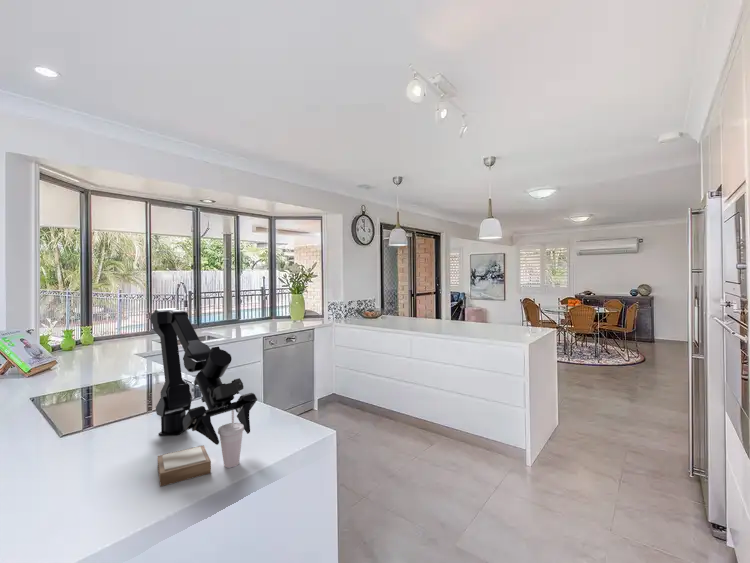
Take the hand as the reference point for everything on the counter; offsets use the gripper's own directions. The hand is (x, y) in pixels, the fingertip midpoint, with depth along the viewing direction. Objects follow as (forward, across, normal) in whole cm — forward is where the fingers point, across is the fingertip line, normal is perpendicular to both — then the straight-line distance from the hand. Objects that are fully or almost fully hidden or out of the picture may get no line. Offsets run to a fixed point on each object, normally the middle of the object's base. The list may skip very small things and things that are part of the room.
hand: (234, 438), depth 99 cm
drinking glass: (-37, +10, +47) cm, 61 cm away
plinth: (-1, -9, +11) cm, 14 cm away
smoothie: (+4, 0, +6) cm, 7 cm away
